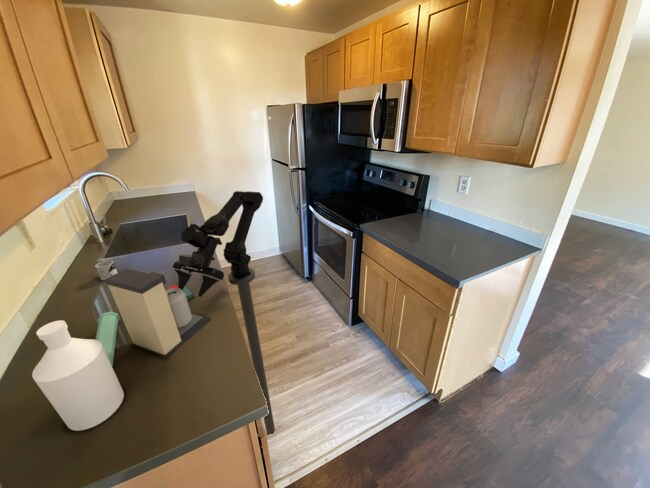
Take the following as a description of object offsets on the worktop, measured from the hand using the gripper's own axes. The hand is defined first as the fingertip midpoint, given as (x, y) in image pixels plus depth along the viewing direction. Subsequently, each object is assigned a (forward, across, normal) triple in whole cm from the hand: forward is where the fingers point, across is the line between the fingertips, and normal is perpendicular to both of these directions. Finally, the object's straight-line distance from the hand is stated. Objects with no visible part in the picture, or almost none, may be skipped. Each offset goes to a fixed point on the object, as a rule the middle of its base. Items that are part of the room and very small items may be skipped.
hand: (189, 294), depth 95 cm
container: (+22, -14, -9) cm, 27 cm away
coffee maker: (+13, 0, 0) cm, 13 cm away
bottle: (+32, +4, -19) cm, 37 cm away
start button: (0, -15, +8) cm, 17 cm away
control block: (+3, -15, +10) cm, 19 cm away
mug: (0, -61, +13) cm, 63 cm away
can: (+10, 0, +1) cm, 10 cm away
